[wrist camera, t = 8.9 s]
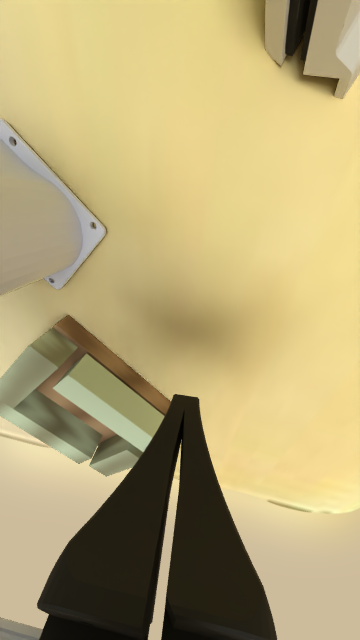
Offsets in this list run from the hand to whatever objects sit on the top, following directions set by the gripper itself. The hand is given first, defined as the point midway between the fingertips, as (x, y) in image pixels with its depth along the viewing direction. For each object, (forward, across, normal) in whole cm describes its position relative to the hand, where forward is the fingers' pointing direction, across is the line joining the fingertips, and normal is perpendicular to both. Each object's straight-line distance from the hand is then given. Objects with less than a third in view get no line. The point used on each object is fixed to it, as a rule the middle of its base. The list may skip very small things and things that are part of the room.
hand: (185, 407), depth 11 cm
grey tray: (+9, +12, +12) cm, 19 cm away
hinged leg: (+7, +7, +10) cm, 14 cm away
